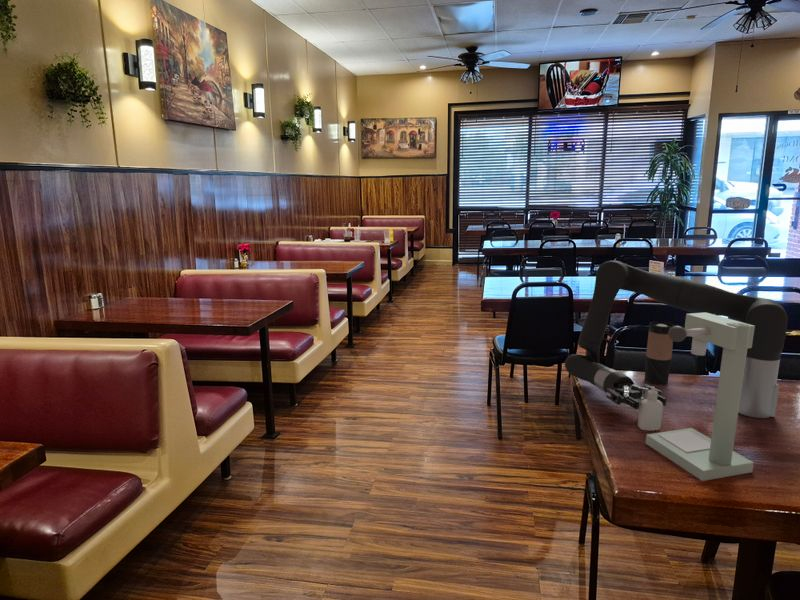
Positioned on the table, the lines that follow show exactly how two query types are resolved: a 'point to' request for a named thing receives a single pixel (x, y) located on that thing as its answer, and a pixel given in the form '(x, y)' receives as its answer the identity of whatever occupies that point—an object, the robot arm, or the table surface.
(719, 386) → the arbor press
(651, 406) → the eye dropper bottle
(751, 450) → the table surface
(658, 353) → the travel mug
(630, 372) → the table surface
